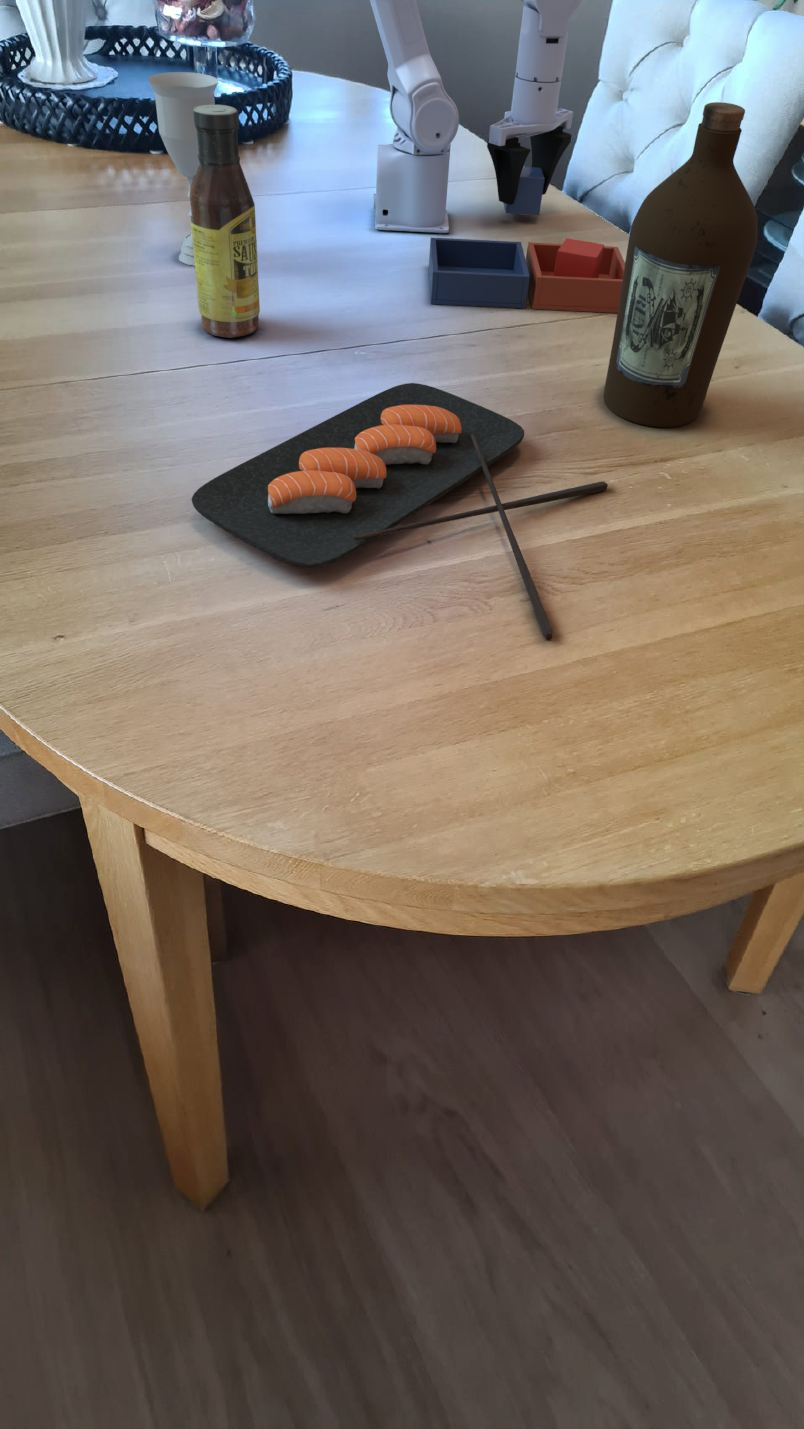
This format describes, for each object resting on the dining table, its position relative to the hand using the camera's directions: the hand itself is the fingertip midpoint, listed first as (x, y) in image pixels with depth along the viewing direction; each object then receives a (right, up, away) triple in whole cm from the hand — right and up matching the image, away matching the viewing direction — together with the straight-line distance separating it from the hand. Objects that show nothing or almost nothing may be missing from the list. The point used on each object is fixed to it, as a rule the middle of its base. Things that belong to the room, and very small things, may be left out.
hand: (522, 197), depth 128 cm
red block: (+4, -19, -16) cm, 25 cm away
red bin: (+4, -20, -16) cm, 25 cm away
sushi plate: (-13, -53, -50) cm, 74 cm away
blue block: (0, -1, +1) cm, 1 cm away
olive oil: (+8, -39, -35) cm, 53 cm away
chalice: (-40, -15, -14) cm, 45 cm away
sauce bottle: (-34, -28, -27) cm, 52 cm away
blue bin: (-8, -19, -16) cm, 26 cm away
